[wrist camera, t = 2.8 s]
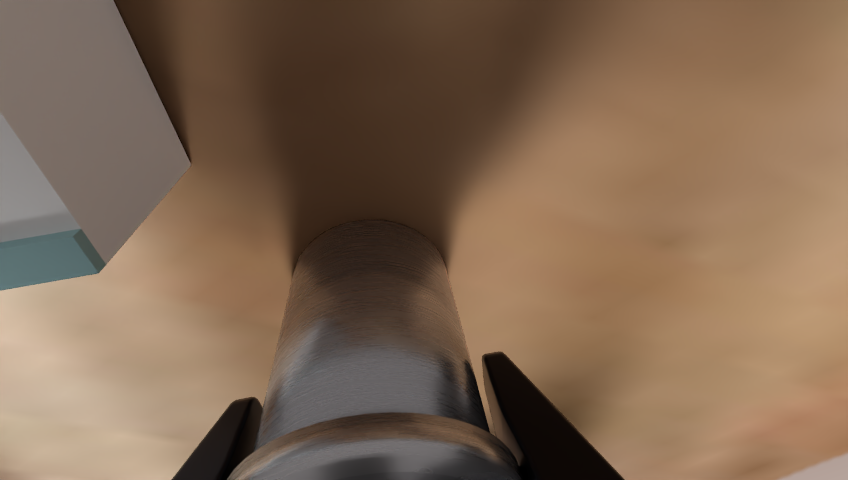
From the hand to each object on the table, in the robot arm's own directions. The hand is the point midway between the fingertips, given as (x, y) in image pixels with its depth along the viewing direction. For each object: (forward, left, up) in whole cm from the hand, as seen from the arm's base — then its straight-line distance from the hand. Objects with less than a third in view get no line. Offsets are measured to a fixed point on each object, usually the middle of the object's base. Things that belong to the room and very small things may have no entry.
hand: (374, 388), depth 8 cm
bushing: (0, 0, -3) cm, 3 cm away
